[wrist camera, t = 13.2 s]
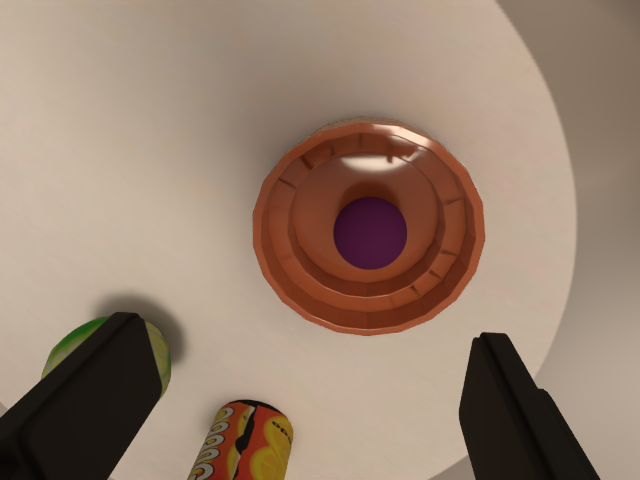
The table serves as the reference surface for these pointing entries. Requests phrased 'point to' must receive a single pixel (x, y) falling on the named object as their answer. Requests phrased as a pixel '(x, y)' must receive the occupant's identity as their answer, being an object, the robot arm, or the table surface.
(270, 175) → the bowl
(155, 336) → the decorative ball
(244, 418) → the beverage can
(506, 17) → the table surface
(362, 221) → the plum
